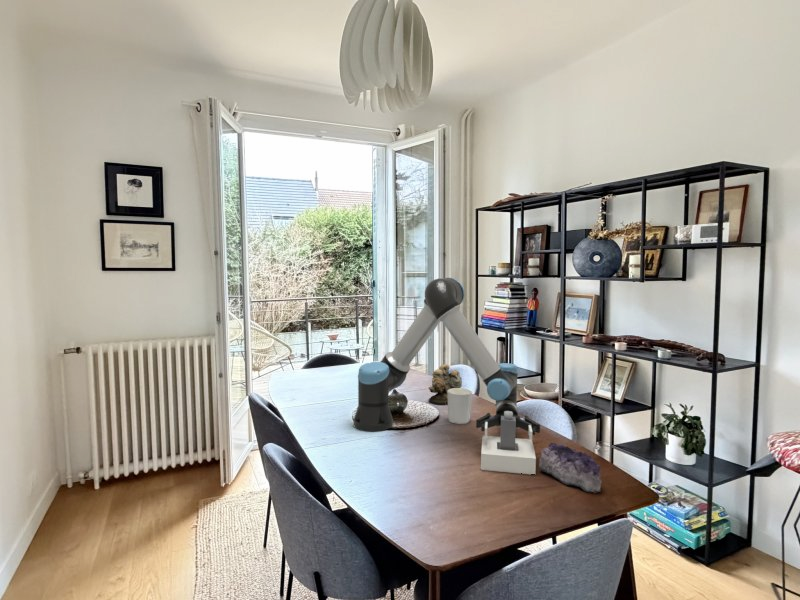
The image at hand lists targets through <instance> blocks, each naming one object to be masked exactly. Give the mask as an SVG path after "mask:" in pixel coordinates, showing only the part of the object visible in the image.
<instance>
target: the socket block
mask: <svg viewBox="0 0 800 600" xmlns="http://www.w3.org/2000/svg"><path fill="white" fill-rule="evenodd" d="M480 453H481V454H480V471H488V472H489V471H490V472H500V473H501V472H502V473H511V474H521V473H522V474H521V475H531V474H535V475H536V465H537V457H536V452H535V447H534V443H533V440H532V441H531V440H530V439H529V438H520V437H519V438H516V437H515V451H512V450H500V436H495V435H487V437H485V435H482V439H481V452H480Z"/></svg>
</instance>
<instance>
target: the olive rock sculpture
mask: <svg viewBox="0 0 800 600" xmlns="http://www.w3.org/2000/svg"><path fill="white" fill-rule="evenodd" d="M450 367H451V366H450V365H449V364H446V363H445V364H441V365H440V366H439V368H437V369H435V370H433V372H432V373H431V374H432V378H431V382H432V384H431V386H429V387H428V390H429V392H430V393H431V394H432V393H435V394H433V395H432V396H431V397H429V398H428V402H430V403H431V404H434V405H438V406H443V405H444V406H446V405H447V406H448V394H447V390H449V389H452V388H462V387H463V381H462V380H463V379H462V377H461V375H460V374H461V373H460V372H459V370H452V371H451V372H450V373H449V371H450Z"/></svg>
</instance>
